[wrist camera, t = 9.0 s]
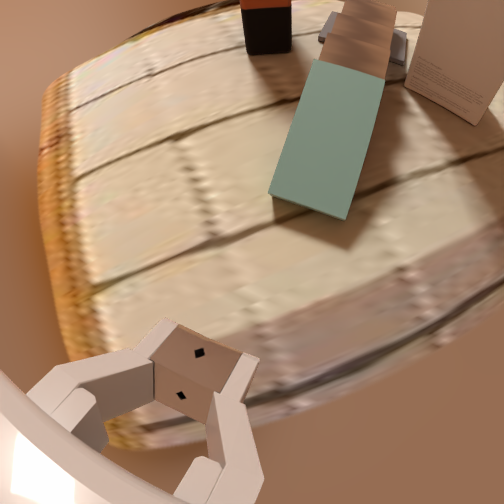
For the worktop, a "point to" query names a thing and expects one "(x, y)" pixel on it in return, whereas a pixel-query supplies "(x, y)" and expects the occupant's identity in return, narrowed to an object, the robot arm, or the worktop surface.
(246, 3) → the battery
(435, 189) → the worktop surface
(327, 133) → the domino end
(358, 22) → the domino
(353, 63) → the domino
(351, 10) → the domino
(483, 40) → the skincare box
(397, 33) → the pad
